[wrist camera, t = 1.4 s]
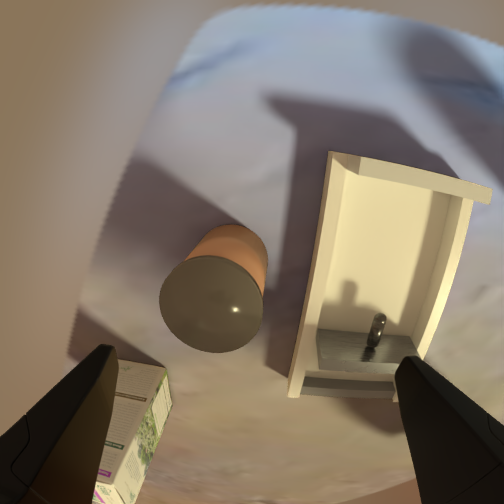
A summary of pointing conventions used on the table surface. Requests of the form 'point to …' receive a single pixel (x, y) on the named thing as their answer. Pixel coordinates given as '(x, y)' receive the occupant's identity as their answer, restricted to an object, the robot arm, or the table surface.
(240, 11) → the table surface
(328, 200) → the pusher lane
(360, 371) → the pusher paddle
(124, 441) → the syrup box
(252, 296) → the terracotta jar
